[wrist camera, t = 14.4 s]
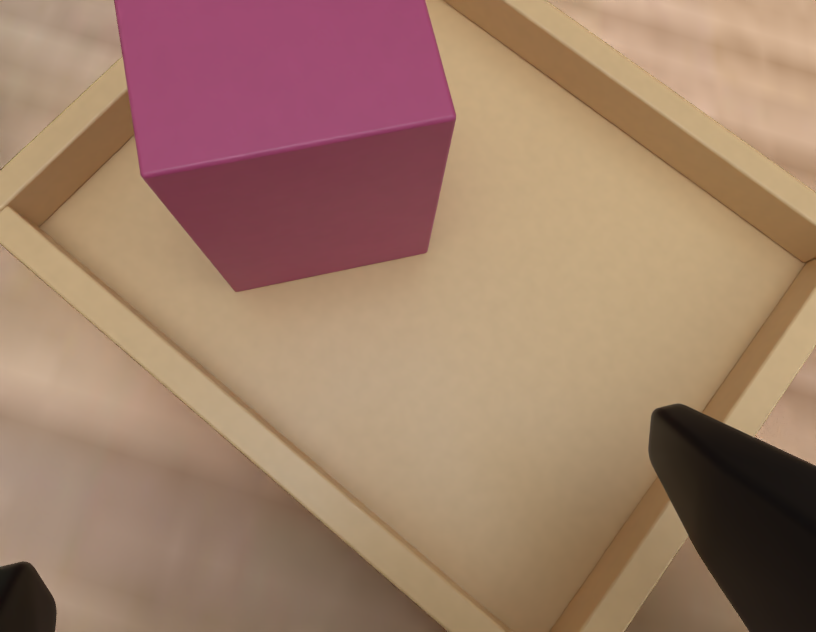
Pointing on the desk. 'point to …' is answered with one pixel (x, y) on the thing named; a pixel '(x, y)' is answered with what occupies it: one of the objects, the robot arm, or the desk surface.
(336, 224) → the mulberry block
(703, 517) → the robot arm
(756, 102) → the desk surface
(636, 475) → the tray
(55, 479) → the desk surface
